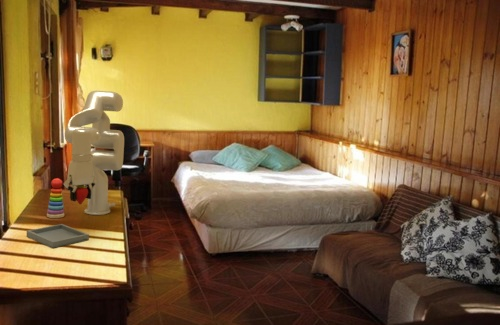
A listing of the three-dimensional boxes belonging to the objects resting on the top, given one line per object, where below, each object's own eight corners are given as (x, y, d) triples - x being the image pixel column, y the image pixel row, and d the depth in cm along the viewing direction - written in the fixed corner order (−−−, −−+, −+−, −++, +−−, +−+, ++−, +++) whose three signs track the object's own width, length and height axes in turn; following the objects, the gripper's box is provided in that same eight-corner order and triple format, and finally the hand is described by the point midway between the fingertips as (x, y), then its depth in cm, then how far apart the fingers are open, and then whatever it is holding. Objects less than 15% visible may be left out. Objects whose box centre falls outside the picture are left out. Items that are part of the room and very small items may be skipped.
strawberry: (87, 202, 209) (88, 179, 207) (88, 206, 202) (88, 183, 200) (73, 202, 207) (73, 179, 205) (73, 206, 200) (73, 183, 198)
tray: (61, 229, 211) (61, 223, 210) (88, 240, 199) (88, 234, 199) (26, 236, 198) (26, 230, 198) (53, 248, 186) (53, 242, 186)
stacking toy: (58, 219, 225) (58, 180, 222) (43, 217, 227) (43, 179, 224) (67, 215, 233) (68, 178, 230) (53, 213, 234) (53, 176, 232)
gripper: (93, 155, 210) (92, 195, 213) (57, 158, 196) (57, 200, 199) (104, 158, 206) (103, 198, 208) (67, 161, 192) (67, 204, 195)
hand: (80, 199), depth 204 cm, fingers closed on strawberry, 6 cm apart
